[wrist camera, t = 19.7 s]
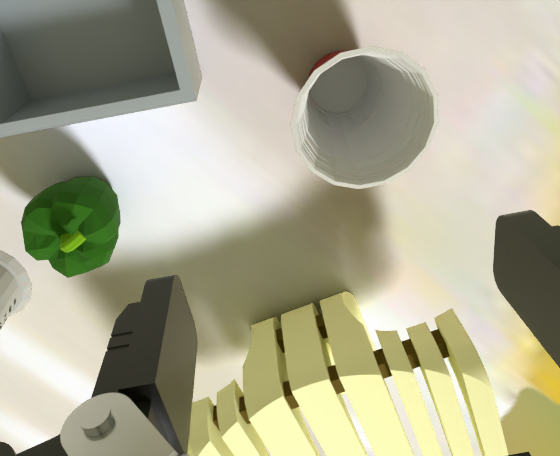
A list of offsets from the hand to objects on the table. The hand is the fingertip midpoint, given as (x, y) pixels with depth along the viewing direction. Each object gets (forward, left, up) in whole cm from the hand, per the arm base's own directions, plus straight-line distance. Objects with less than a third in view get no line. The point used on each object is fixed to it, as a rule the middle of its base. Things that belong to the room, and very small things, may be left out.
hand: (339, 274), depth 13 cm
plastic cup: (+5, +6, -36) cm, 37 cm away
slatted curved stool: (+36, 0, -36) cm, 51 cm away
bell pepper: (+12, -20, -36) cm, 43 cm away
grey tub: (-6, -14, -36) cm, 39 cm away
